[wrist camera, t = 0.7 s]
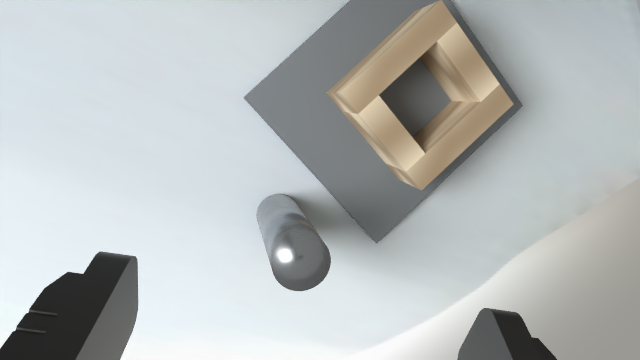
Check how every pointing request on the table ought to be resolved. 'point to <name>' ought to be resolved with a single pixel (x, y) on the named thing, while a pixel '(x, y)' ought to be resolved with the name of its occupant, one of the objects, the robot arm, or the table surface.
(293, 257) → the ball
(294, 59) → the mat
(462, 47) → the wooden square frame
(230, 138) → the table surface
